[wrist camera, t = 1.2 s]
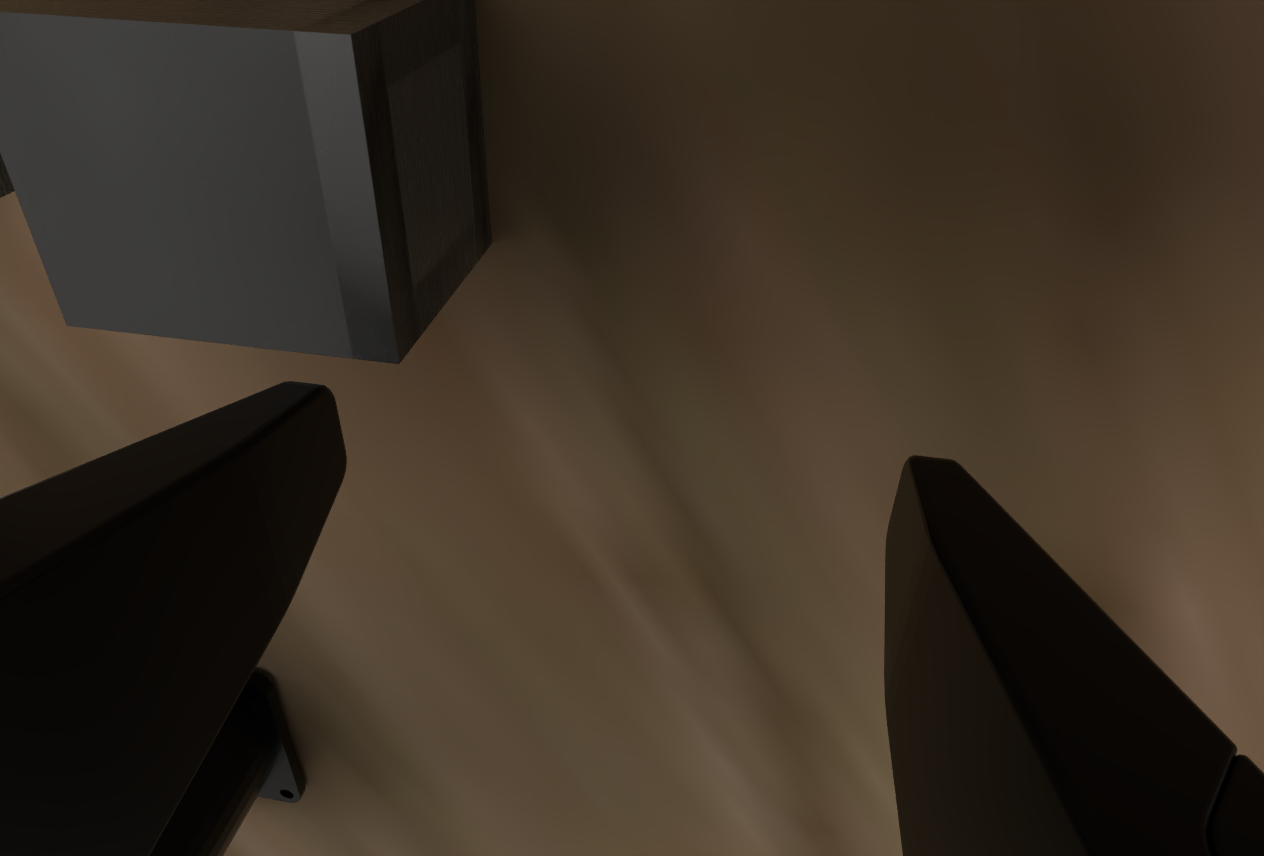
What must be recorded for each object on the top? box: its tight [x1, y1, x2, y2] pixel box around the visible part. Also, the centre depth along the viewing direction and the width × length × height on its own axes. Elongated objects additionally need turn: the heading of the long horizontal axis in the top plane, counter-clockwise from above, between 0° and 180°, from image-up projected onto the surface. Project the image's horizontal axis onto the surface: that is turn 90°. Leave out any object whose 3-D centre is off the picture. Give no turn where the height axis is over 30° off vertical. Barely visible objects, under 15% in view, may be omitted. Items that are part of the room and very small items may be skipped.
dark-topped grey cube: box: [0, 0, 492, 364], centre depth 15 cm, size 5×6×5 cm
